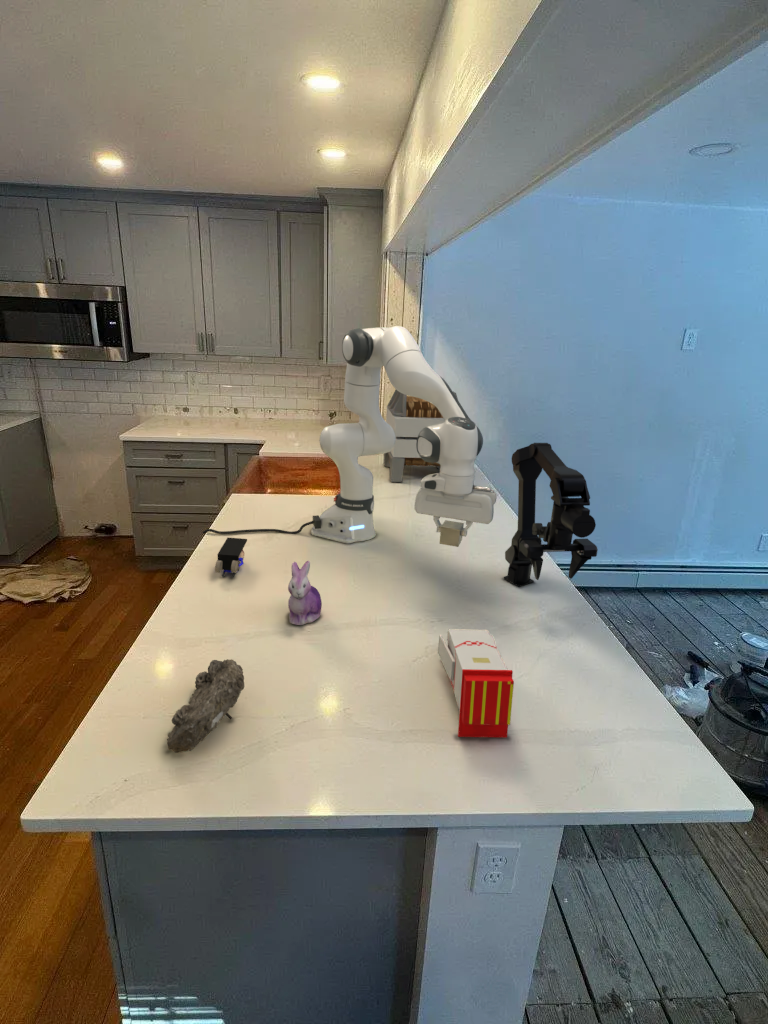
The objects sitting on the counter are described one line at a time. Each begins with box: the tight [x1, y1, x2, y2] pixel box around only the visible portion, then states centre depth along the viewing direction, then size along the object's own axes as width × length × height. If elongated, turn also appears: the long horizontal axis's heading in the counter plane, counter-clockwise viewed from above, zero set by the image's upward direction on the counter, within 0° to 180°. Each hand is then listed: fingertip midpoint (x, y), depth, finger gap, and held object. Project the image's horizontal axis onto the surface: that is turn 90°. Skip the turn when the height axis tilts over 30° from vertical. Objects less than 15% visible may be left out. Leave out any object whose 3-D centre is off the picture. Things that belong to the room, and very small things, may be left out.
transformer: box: [383, 389, 459, 483], centre depth 268 cm, size 34×33×41 cm
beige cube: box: [439, 519, 465, 548], centre depth 148 cm, size 5×5×5 cm
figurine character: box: [214, 537, 248, 578], centre depth 166 cm, size 7×8×15 cm
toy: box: [437, 628, 515, 738], centre depth 117 cm, size 12×13×30 cm
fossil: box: [166, 658, 245, 754], centre depth 106 cm, size 22×10×15 cm
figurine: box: [287, 560, 323, 626], centre depth 141 cm, size 9×10×15 cm
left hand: (451, 533), depth 148 cm, fingers closed on beige cube, 5 cm apart
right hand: (553, 578), depth 146 cm, fingers open, 9 cm apart
